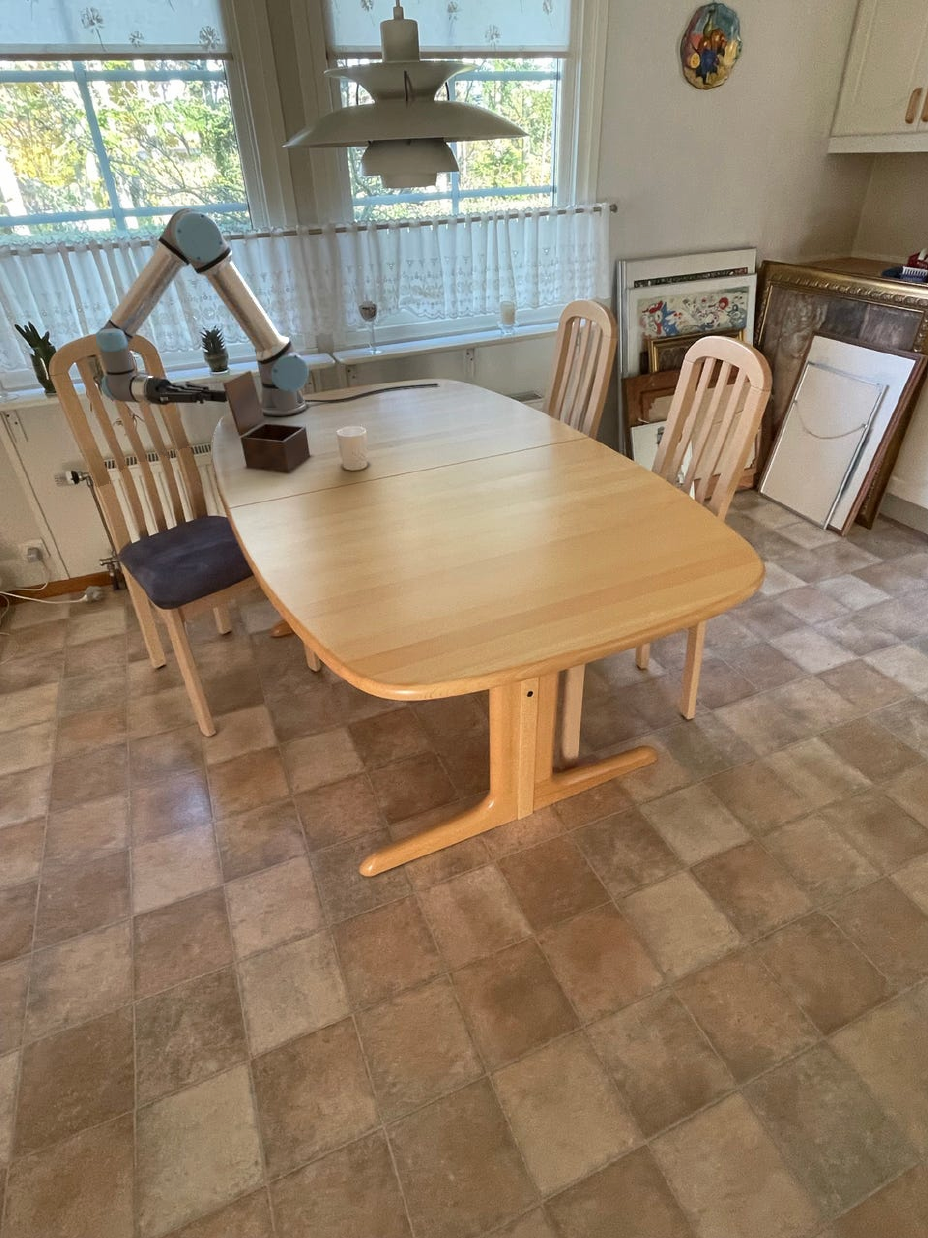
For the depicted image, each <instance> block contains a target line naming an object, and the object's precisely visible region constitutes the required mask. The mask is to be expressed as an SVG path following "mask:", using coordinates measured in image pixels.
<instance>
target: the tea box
mask: <svg viewBox="0 0 928 1238" xmlns="http://www.w3.org/2000/svg"><path fill="white" fill-rule="evenodd" d="M240 442H241V443H240V444H241V447H242V452H243V457H244V462H245V466H246V468H247V469H255V470H265V471H271V472H281V473H290V472H292V471H293V470H294V469H295V468H297V467H298V466H299V465H301V464H302V463H303V462H305V461H306V460H307V459H309V458H310V457H311V453H310V446H309V439H308V433H307V426H300V425H299V426H298V425H290V424H289V425H288V424H279V423H270V422H269V423H267V422H263V423H261V424H260V425H258V426H257V427H255V428H253V429H252V430H250V431H249V432H247V433H245V434H244V435H242V436H240Z"/></svg>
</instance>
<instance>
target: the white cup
mask: <svg viewBox="0 0 928 1238" xmlns="http://www.w3.org/2000/svg"><path fill="white" fill-rule="evenodd" d="M336 435H337V436H336V437H337V442H338V448H339V454H340V458H341V461H342V467H343V469H345V470H347V471H360V470H364V469H365V468H367V467H368V443H367V441H368V440H367V430H366V429H365V428H364V427H361V426H355V425H354V426H346V427H342V428H339V429H338V430H337V431H336Z"/></svg>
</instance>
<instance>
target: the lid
mask: <svg viewBox="0 0 928 1238" xmlns="http://www.w3.org/2000/svg"><path fill="white" fill-rule="evenodd" d="M222 384H223V389H224V391H225V392H226V396H227V402H228V405H229V408H230V412H231V416H232V419H233V421H234V425H235V429H236V431H237V432H236V433H237V435H238V437H243V436H244V435H246V434H247V433H249V432H251V431H252V430H254V429H255V428H257V427H259V426H260V425H262V424H263V423H266V421H265V416H264V414H263V413H262V409H261V405H260V397H259V395H258V392H257V391H258V390H257V387H256V384H255V379H254V377H253V374H252V370H251V369H250V370H246V371H245V372H243V373H241V374H238V375H237V376H234V377H232V378H230V379H228V380H226V381H224V382H222Z"/></svg>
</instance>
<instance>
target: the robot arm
mask: <svg viewBox="0 0 928 1238" xmlns="http://www.w3.org/2000/svg"><path fill="white" fill-rule="evenodd" d="M232 254H233V250H232V248H231V247H230V246H229V244H228V242H227V241H226V239H225V238H224V237H223V232H222V230H221V228H220V226H219V225H218V222H216V221H215V219H214V218H213V217H211V216H210V215H209V214H207V213H205V212H203V211H201V210H197V209H194V208H189V207H187V208H185V207H184V208H180V209H178V210H177V211H175V212H174V213H173V214H172V215H171V217H170V219H169V220H168V222H167V225H166V226H165V228H164V230H163V231H162V233H161V235H160V237H159V238H158V239H157V248H156V249H155V251H154V253H153V254H152V255H151V257H150V259H149V260H148V262H147V263H146V265H145V266H144V268H143V269H142V270H141V272H140V273H139V275H138V276H137V277H136V279H135V281H134V282H133V283H132V285H131V286H130V287H129V289H128V291H127V293H126V294H125V295H124V297H123V298H122V300H121V301H120V302H119V304H118V305H117V307H116V308H115V310H114V311H113V312H112V314H111V315H110V317H109V319H108V320H107V321H106V323H105V325H103V327H101V328H100V329H99V330H98V331H96V332H95V340H96V345H97V347H98V350H99V353H100V356H101V360H102V362H103V366H104V369H105V373H106V374H104V375H103V377H102V379H101V390H102V392H103V394H104V395H105V396H106V398H108V399H110V400H112V401H118V402H120V403H121V402H122V403H139V404H147V406H152V405H158V406H167V405H169V404H197V403H198V402H199V404H200V405H203V404H204V403H205V402H214V403H215V402H216V403H227V402H228V399H227V395H226V392H225V390H218V389H210V386H207V385H201V384H197V383H192V382H190V381H185V383H184V384H179V383H177V382H175V383H172V382H171V381H170V380H169V379H168V378H166V377H164V376H163V377H162V376H151V375H139V374H138V375H137V373H136V369H135V367H134V362H133V359H132V355H131V352H130V348H129V346H130V344H131V342H132V340H133V339H134V337H135V336H136V334H137V333H138V331H139V330H140V328H141V327H142V326H143V324H144V323H145V321H146V320H147V318H148V317H149V315H151V313H152V312H153V310H154V309H155V307H156V305H157V304H158V303H159V302H160V300H161V298H162V297H163V296H164V294H165V293H166V292H167V290H168V288H169V287H170V286H171V285H172V283H173V281H174V280H175V279H176V277H177V276H178V274H179V273H180V271H181V270H182V268H186V267H187V268H188V267H189V265H191V267H192V268H193V270H194V271H195V272H196V274H197V275H199V276H202V277H203V276H204V277H205V278H206V279H207V280H208V282H209V283H210V285H211V286H212V288H213V289H214V291H215V292H216V294H217V295H218V297H219V298H220V299H221V301H222V302H223V304H224V306H226V308H227V310H228V311H229V312H230V314H231V315H232V317H233V318H234V319H235V322H236V323H237V324H238V326H239V327H240V328H241V330H242V331H243V333H244V335H245V336H246V337H247V338H248V340H249V341H250V343H251V344H252V345H253V347H254V353H255V359H256V361H257V367H258V373H259V378H260V383H261V393H260V396H259V402H260V405H261V409H262V413H263V415H266V416H270V417H271V416H272V417H286V416H293V415H296V414H299V413H301V412H304V410H306V409H307V403H332V402H333V403H334V402H343V401H348V400H352V399H357V398H360V397H362V396H367V395H369V394H375V393H378V392H384V391H390V390H397V389H408V388H417V387H431V386H432V387H433V386H438V385H439V384H438V382H436V383H423V384H422V383H420V384H408V385H399V386H390V387H384V388H381V389H374V390H370V391H367V392H363V393H362V392H361V393H359V394H358V393H357V394H355V395H352V396H349V397H342V398H336V399H335V398H334V399H305V397H304V395H303V392H302V391H301V389H302V388H304V386H305V385H306V384H307V382H308V379H309V375H310V371H309V366H308V364H307V362H306V361H307V360H305V358H303V356H302V355H300V354H299V352H298V351H297V349H296V348H295V346H294V345H293V343H292V341H291V339H290V337H288V336H286V335H285V336H284V335H281V334H280V332H279V330H278V329H277V327H276V326H275V325H274V322H273V321H272V320H271V318H270V317H269V315H268V314H267V312H266V310H265V309H264V308H263V306H262V305H261V303H260V301H259V300H258V299H257V297H256V295H255V294H254V293H253V291H252V289H251V288H250V286H249V285H248V283H247V281H246V280H245V279H244V277H243V276H242V274H241V272H240V271H239V269H238V268H237V267H236V265H235V264H234V262H233V260H232V257H233V255H232Z"/></svg>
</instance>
